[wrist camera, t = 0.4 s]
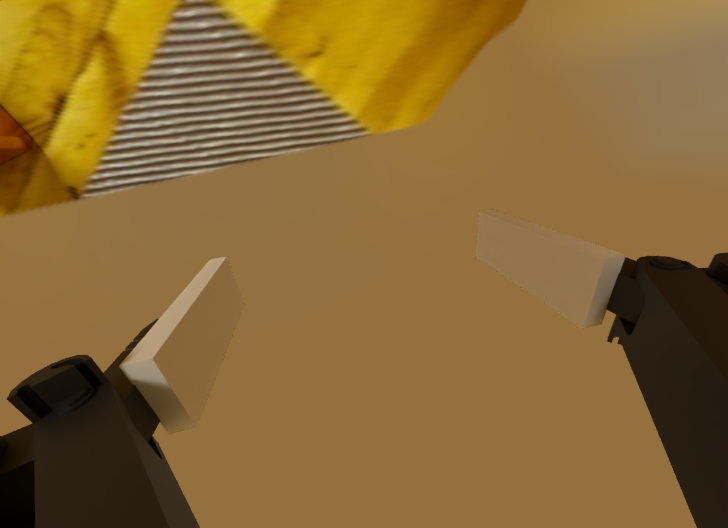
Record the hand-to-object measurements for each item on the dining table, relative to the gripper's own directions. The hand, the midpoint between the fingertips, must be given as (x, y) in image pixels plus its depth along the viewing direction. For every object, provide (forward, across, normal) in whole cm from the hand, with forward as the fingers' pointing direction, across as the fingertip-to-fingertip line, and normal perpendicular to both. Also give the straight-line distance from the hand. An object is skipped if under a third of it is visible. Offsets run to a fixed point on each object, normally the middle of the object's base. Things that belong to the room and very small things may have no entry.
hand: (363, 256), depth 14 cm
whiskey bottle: (+28, -39, +12) cm, 50 cm away
